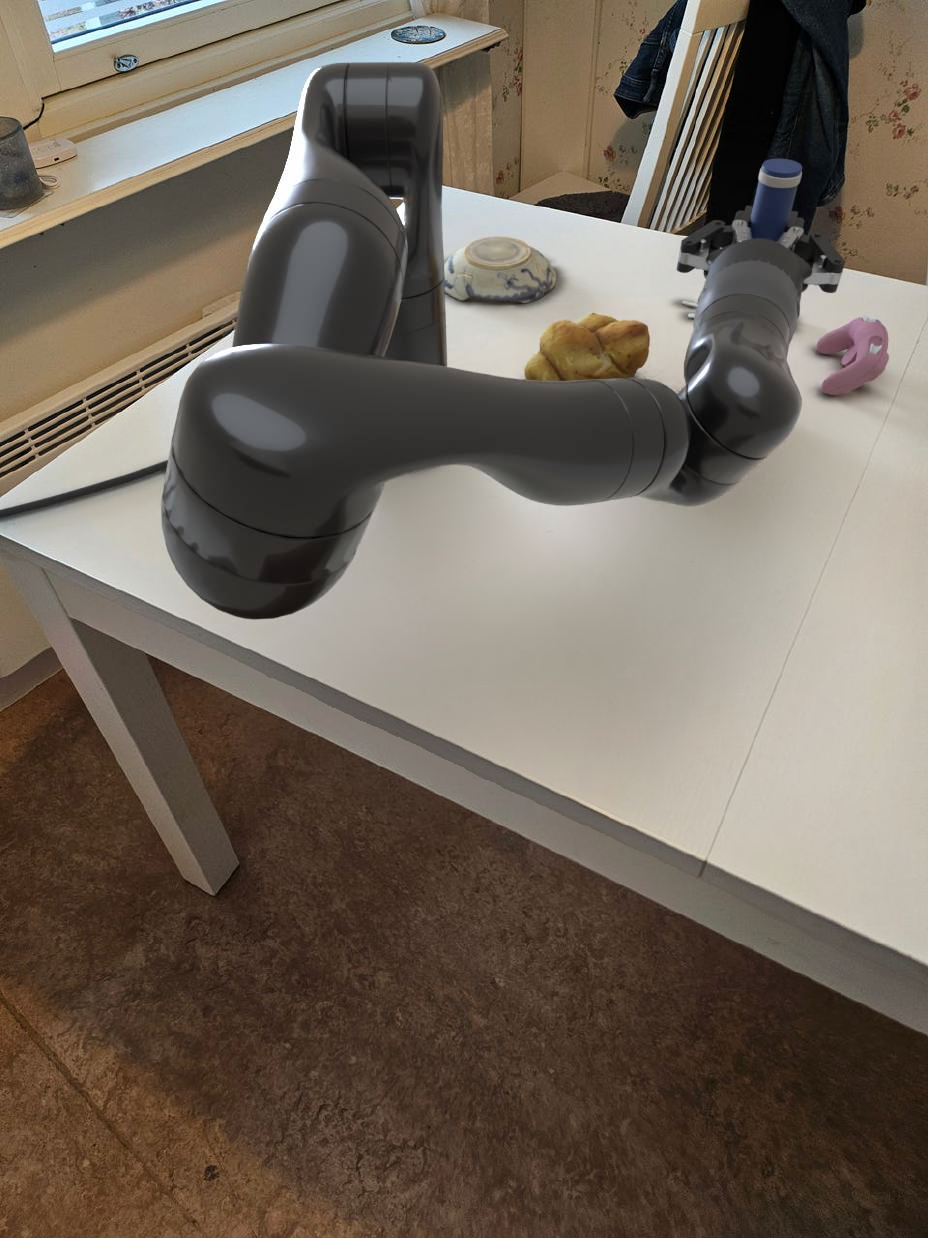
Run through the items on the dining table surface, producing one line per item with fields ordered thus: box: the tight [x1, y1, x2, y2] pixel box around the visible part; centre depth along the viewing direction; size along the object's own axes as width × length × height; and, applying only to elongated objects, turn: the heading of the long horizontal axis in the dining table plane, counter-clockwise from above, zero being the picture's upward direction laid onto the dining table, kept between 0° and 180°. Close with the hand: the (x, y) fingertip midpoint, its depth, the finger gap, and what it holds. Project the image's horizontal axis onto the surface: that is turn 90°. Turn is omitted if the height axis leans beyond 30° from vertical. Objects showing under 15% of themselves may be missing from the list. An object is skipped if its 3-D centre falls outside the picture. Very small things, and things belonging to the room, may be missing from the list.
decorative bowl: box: [444, 236, 557, 304], centre depth 110 cm, size 15×4×15 cm
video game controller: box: [815, 314, 890, 396], centre depth 93 cm, size 10×5×7 cm, turn 169°
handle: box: [749, 158, 803, 242], centre depth 77 cm, size 3×3×14 cm
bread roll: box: [524, 312, 651, 381], centre depth 92 cm, size 13×10×8 cm
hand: (769, 219), depth 78 cm, fingers closed on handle, 3 cm apart
